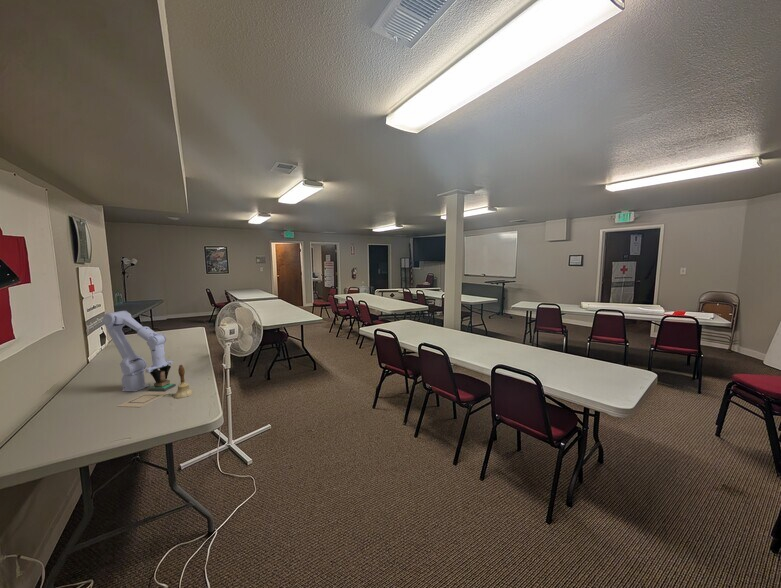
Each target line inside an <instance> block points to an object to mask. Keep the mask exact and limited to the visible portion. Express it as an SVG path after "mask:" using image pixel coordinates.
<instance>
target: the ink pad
mask: <svg viewBox="0 0 781 588" xmlns="http://www.w3.org/2000/svg"><path fill="white" fill-rule="evenodd" d="M176 384H177V383H170V384H168V385H166V386H164V387H155V386H154V385H153V386H151V387H149V388H148V389H147V390H148V391H147V392H166V391H169V390H170V389H172V388H174V387H176V386H177V385H176Z"/></svg>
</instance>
